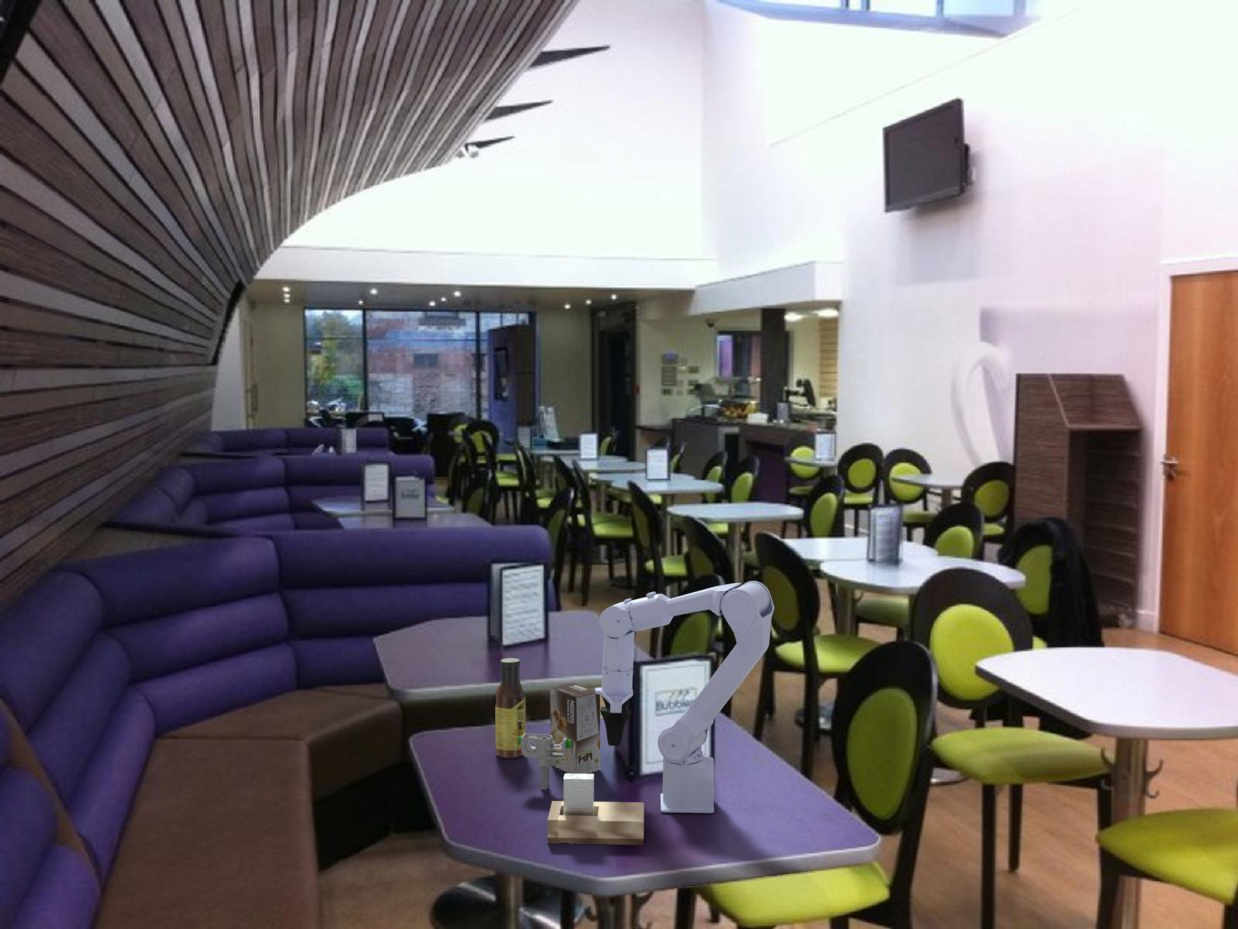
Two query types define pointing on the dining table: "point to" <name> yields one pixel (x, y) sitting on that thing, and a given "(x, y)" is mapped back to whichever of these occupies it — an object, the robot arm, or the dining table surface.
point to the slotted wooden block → (598, 824)
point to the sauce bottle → (509, 710)
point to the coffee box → (576, 727)
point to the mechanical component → (543, 752)
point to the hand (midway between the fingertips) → (614, 738)
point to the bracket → (579, 794)
